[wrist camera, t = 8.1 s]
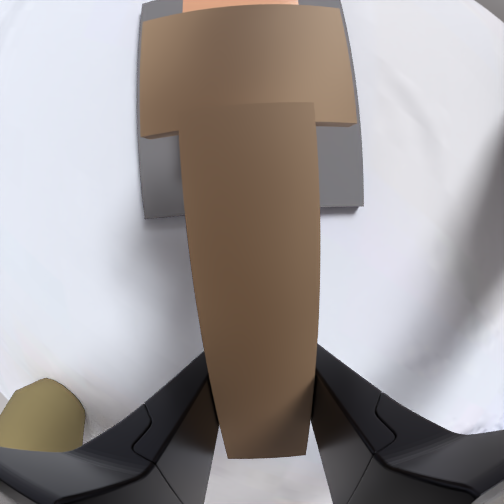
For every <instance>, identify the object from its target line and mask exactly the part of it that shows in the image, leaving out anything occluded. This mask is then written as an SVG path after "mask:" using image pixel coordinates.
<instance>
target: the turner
mask: <svg viewBox="0 0 504 504" xmlns="http://www.w3.org/2000/svg"><path fill="white" fill-rule="evenodd" d="M355 124H357V114H356V105H355V96H354V87H353V80H352V73H351V66H350V60H349V54H348V48H347V42H346V37H345V32H344V27H343V22H342V18H341V13H340V9H339V8H332V7H323V6H311V5H293V4H257V5H239V6H227V7H217V8H209V9H202V10H195V11H189V12H184V13H179V14H174V15H169V16H164V17H160V18H156V19H152V20H148V21H144V22H143V25H142V38H141V56H140V134H141V137H143V138H146V139H150V140H151V139H157V138H163V137H170V136H176V135H179V146H180V162H181V175H182V188H183V199H184V209H185V219H186V229H187V237H188V246H189V254H190V262H191V270H192V277H193V284H194V291H195V298H196V305H197V311H198V317H199V323H200V329H201V335H202V341H203V347H204V352H205V357H206V363H207V368H208V373H209V378H210V383H211V388H212V393H213V397H214V402H215V407H216V411H217V416H218V420H219V424H220V429H221V433H222V437H223V441H224V445H225V449H226V453H227V457H228V459H256V458H278V457H291V456H301V455H306V449H307V442H308V435H309V427H310V418H311V410H312V400H313V390H314V379H315V367H316V354H317V338H318V320H319V294H320V194H319V168H318V150H317V135H316V126H329V127H350V126H352V125H355Z"/></svg>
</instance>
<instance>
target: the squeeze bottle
mask: <svg viewBox="0 0 504 504" xmlns="http://www.w3.org/2000/svg"><path fill="white" fill-rule="evenodd" d="M84 423H85V410H84V409H83V407H82V405H81V403H80V402H79V401H78V399H77V398H76V397H75V396H74V395H73V394H72V393H71V392H70V391H69V390H68V389H66V388H65V387H64V386H63V385H61V384H59V383H58V382H56V381H54V380H51V379H47V378H44V379H40V380H38V381H36V382H34V383H32V384H30V385H27V386H25V387H23V388H21V389H19V390H16V391H15V392H14V394H13V395H12V397H11V399H10V400H9V402H8V403H7V405H6V407H5V408H4V410H3V412H2V413H1V415H0V447H5V448H12V449H20V450H29V451H42V452H67V451H71V450H74V449H76V448H78V447H80V446H82V443H83V432H84Z"/></svg>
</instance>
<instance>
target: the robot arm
mask: <svg viewBox="0 0 504 504" xmlns="http://www.w3.org/2000/svg"><path fill="white" fill-rule="evenodd" d="M310 420H311V423H312V427H313V431H314V434H315V438H316V442H317V445H318V449H319V453H320V456H321V460H322V464H323V467H324V471H325V475H326V479H327V482H328V486H329V490H330V494H331V498H332V501H333V504H504V430H499V431H493V432H486V433H479V434H471V435H464V434H458V433H454V432H451V431H449V430H447V429H445V428H443V427H441V426H439V425H437V424H435V423H433V422H431V421H429V420H427V419H425V418H424V417H422V416H420V415H418V414H416V413H414V412H413V411H411V410H409V409H407V408H406V407H404V406H402V405H401V404H399V403H398V402H396V401H395V400H393V399H392V398H390V397H389V396H388V395H386V394H385V393H382V391H380V390H379V389H378V388H376V387H375V386H374V385H372V384H371V383H369V382H368V381H367V380H365V379H364V378H363V377H361V376H360V375H359V374H357V373H356V372H355V371H353V370H352V369H351V368H349V367H348V366H346V365H345V364H344V363H342V362H341V361H340V360H338V359H337V358H336V357H335V356H333V355H332V354H331V353H329V352H328V351H327V350H325V349H324V348H323V347H321V346H320V345H319V344H317V354H316V367H315V379H314V390H313V400H312V410H311V418H310ZM218 429H219V420H218V416H217V411H216V407H215V402H214V397H213V393H212V388H211V383H210V378H209V373H208V368H207V363H206V357H205V352H204V351H203V352H202V353H201V354H200V355H199V356H198V357H197V358H195V359H194V360H193V361H192V362H191V363H190V364H189V365H188V366H186V367H185V368H184V369H183V370H182V371H181V372H180V373H178V374H177V375H176V376H175V377H174V378H173V379H172V380H170V381H169V382H168V383H167V384H166V385H165V386H163V387H162V388H161V389H160V390H159V391H158V392H156V393H155V394H154V395H153V396H152V397H151V398H149V399H148V400H147V401H146V402H145V404H142V405H141V406H140V407H139V408H137V409H136V410H135V411H134V412H132V413H131V414H130V415H128V416H127V417H126V418H125V419H123V420H122V421H120V422H119V423H117V424H116V425H114V426H113V427H111V428H110V429H108V430H107V431H105V432H104V433H102V434H100V435H99V436H97V437H95V438H94V439H92V440H91V441H89V442H87V443H86V444H84V445H82V446H80V447H78V448H76V449H74V450H71V451H67V452H42V451H29V450H20V449H12V448H5V447H0V504H204V500H205V495H206V490H207V485H208V480H209V475H210V470H211V464H212V459H213V454H214V449H215V444H216V439H217V434H218Z"/></svg>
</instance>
